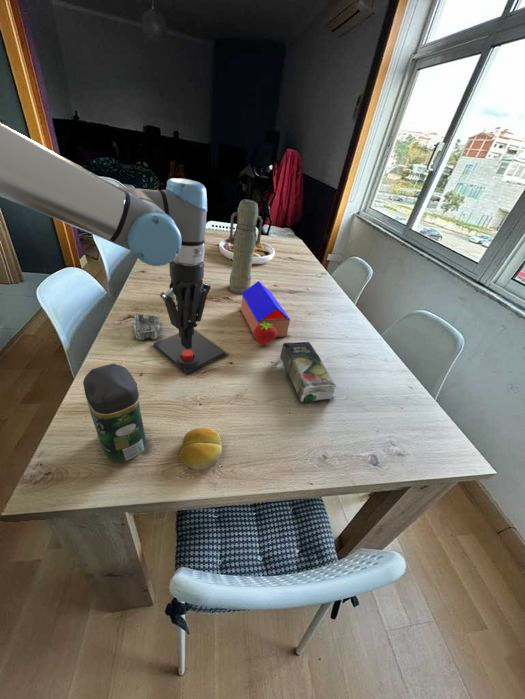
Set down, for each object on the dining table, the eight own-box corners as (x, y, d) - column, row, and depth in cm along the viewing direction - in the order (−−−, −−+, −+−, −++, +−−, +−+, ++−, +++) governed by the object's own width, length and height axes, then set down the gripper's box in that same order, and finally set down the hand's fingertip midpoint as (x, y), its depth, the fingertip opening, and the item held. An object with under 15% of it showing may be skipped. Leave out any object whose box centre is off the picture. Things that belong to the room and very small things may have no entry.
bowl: (284, 261, 164) (286, 247, 159) (245, 270, 144) (247, 254, 140) (247, 244, 178) (248, 230, 174) (207, 250, 159) (208, 235, 154)
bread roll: (178, 471, 57) (177, 459, 55) (185, 433, 64) (184, 421, 62) (220, 472, 58) (221, 460, 56) (222, 434, 66) (223, 423, 63)
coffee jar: (95, 435, 61) (75, 368, 50) (134, 419, 65) (123, 354, 54) (110, 471, 55) (90, 404, 44) (151, 452, 60) (143, 386, 49)
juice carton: (334, 401, 79) (341, 385, 76) (301, 405, 76) (306, 388, 73) (306, 356, 94) (311, 340, 91) (278, 358, 92) (281, 342, 88)
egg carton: (135, 322, 95) (134, 311, 93) (160, 321, 98) (159, 311, 95) (134, 341, 87) (132, 329, 85) (160, 340, 90) (159, 328, 87)
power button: (179, 357, 81) (179, 352, 80) (188, 353, 83) (188, 348, 82) (186, 362, 79) (186, 357, 78) (195, 358, 81) (195, 353, 80)
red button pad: (152, 346, 87) (151, 338, 85) (192, 331, 96) (192, 323, 94) (185, 375, 79) (185, 366, 77) (225, 355, 89) (225, 347, 87)
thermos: (255, 294, 125) (268, 205, 104) (227, 293, 121) (235, 201, 101) (250, 285, 131) (261, 200, 111) (224, 284, 128) (231, 196, 107)
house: (254, 338, 98) (259, 308, 91) (239, 309, 113) (243, 280, 106) (287, 336, 102) (294, 307, 95) (268, 308, 117) (273, 280, 110)
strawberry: (276, 351, 94) (282, 325, 88) (253, 351, 92) (257, 325, 86) (271, 340, 99) (276, 314, 93) (249, 340, 96) (253, 314, 91)
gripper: (171, 271, 58) (173, 362, 72) (220, 261, 67) (214, 344, 81) (150, 258, 62) (156, 347, 76) (199, 250, 71) (197, 331, 84)
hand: (186, 345), depth 78 cm, fingers closed
